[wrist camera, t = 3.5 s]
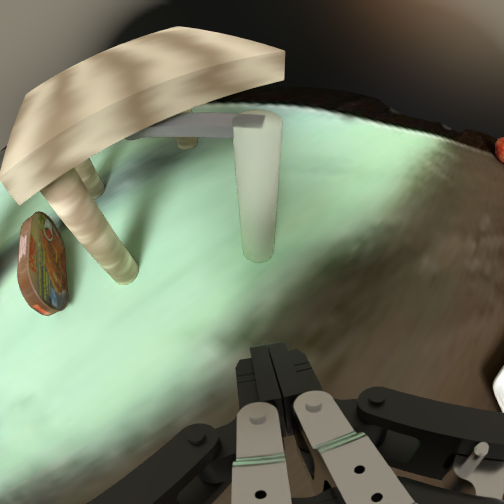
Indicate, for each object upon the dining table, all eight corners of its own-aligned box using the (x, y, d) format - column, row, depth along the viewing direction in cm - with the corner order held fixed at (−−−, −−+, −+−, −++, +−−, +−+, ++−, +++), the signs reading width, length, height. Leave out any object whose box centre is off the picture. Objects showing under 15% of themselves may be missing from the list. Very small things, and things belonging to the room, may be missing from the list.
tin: (72, 319, 28) (30, 292, 21) (55, 327, 28) (13, 301, 20) (65, 233, 35) (37, 198, 28) (50, 241, 35) (22, 208, 28)
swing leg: (164, 249, 33) (111, 134, 18) (174, 226, 35) (132, 110, 20) (271, 264, 31) (279, 136, 17) (275, 238, 33) (284, 110, 19)
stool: (114, 303, 29) (-2, 178, 12) (78, 191, 40) (26, 93, 22) (276, 207, 36) (285, 51, 18) (195, 130, 47) (177, 26, 29)
